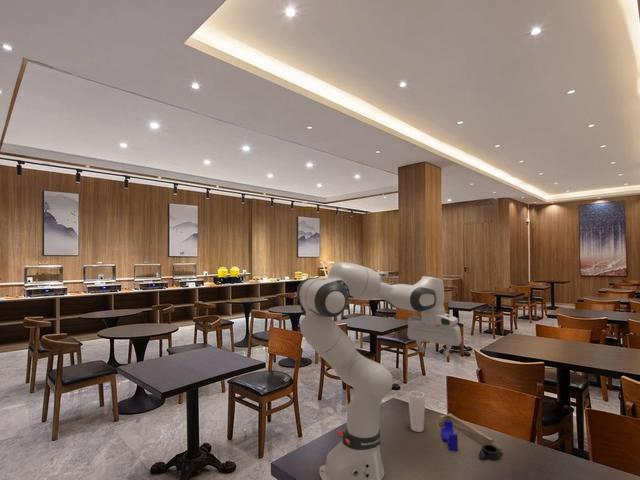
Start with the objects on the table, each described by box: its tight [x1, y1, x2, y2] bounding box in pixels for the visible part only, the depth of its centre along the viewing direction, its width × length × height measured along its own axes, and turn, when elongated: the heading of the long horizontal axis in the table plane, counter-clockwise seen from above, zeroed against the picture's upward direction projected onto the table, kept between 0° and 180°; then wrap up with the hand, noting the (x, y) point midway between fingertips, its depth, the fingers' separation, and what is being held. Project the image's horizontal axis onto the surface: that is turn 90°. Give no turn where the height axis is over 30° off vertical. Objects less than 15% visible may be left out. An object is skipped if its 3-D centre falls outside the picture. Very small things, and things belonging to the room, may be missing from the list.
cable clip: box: [440, 420, 459, 452], centre depth 141 cm, size 12×4×6 cm, turn 169°
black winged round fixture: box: [478, 445, 503, 462], centre depth 132 cm, size 8×10×3 cm
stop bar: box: [438, 413, 495, 447], centre depth 145 cm, size 6×24×4 cm, turn 21°
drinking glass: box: [408, 390, 426, 433], centre depth 152 cm, size 7×7×15 cm
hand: (433, 353), depth 137 cm, fingers open, 8 cm apart
